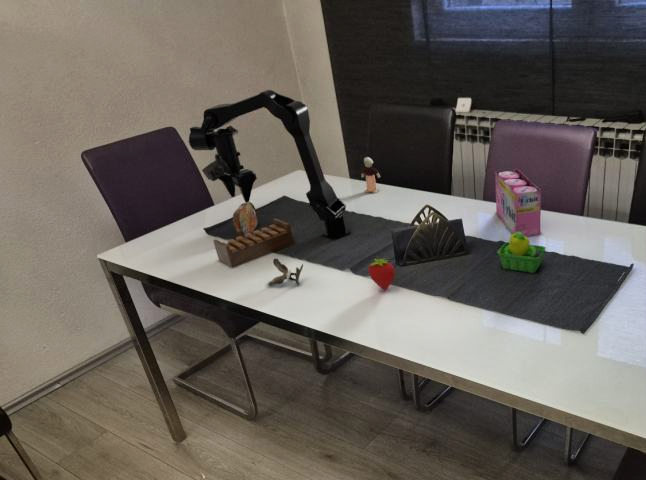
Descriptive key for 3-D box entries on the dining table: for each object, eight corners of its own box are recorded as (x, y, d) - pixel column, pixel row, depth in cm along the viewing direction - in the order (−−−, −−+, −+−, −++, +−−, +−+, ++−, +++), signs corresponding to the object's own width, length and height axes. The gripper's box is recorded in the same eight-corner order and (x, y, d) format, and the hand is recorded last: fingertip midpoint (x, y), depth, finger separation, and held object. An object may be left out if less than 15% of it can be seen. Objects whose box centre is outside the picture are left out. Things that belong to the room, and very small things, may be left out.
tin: (246, 240, 190) (239, 214, 186) (236, 240, 190) (229, 215, 186) (260, 222, 203) (253, 198, 198) (251, 223, 203) (244, 198, 198)
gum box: (494, 211, 197) (492, 170, 190) (517, 207, 198) (516, 167, 191) (516, 238, 177) (515, 193, 170) (541, 234, 178) (541, 190, 171)
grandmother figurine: (361, 193, 221) (355, 159, 215) (364, 190, 225) (359, 155, 218) (381, 193, 220) (376, 158, 213) (384, 189, 223) (379, 155, 216)
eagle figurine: (307, 271, 165) (276, 265, 166) (300, 258, 158) (268, 251, 159) (298, 295, 162) (266, 289, 163) (290, 283, 155) (258, 276, 156)
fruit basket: (546, 263, 162) (547, 224, 155) (535, 278, 155) (536, 237, 149) (506, 258, 166) (506, 219, 160) (495, 272, 159) (493, 232, 153)
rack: (294, 243, 185) (289, 223, 182) (232, 267, 173) (225, 247, 170) (280, 237, 190) (275, 218, 187) (219, 260, 178) (212, 240, 175)
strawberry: (386, 298, 151) (381, 262, 146) (366, 291, 155) (360, 255, 150) (402, 289, 155) (398, 253, 149) (382, 282, 159) (377, 247, 153)
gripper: (187, 152, 183) (203, 201, 192) (215, 161, 172) (230, 213, 180) (221, 143, 190) (234, 191, 198) (250, 151, 178) (263, 202, 187)
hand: (240, 199), depth 191 cm, fingers open, 9 cm apart
